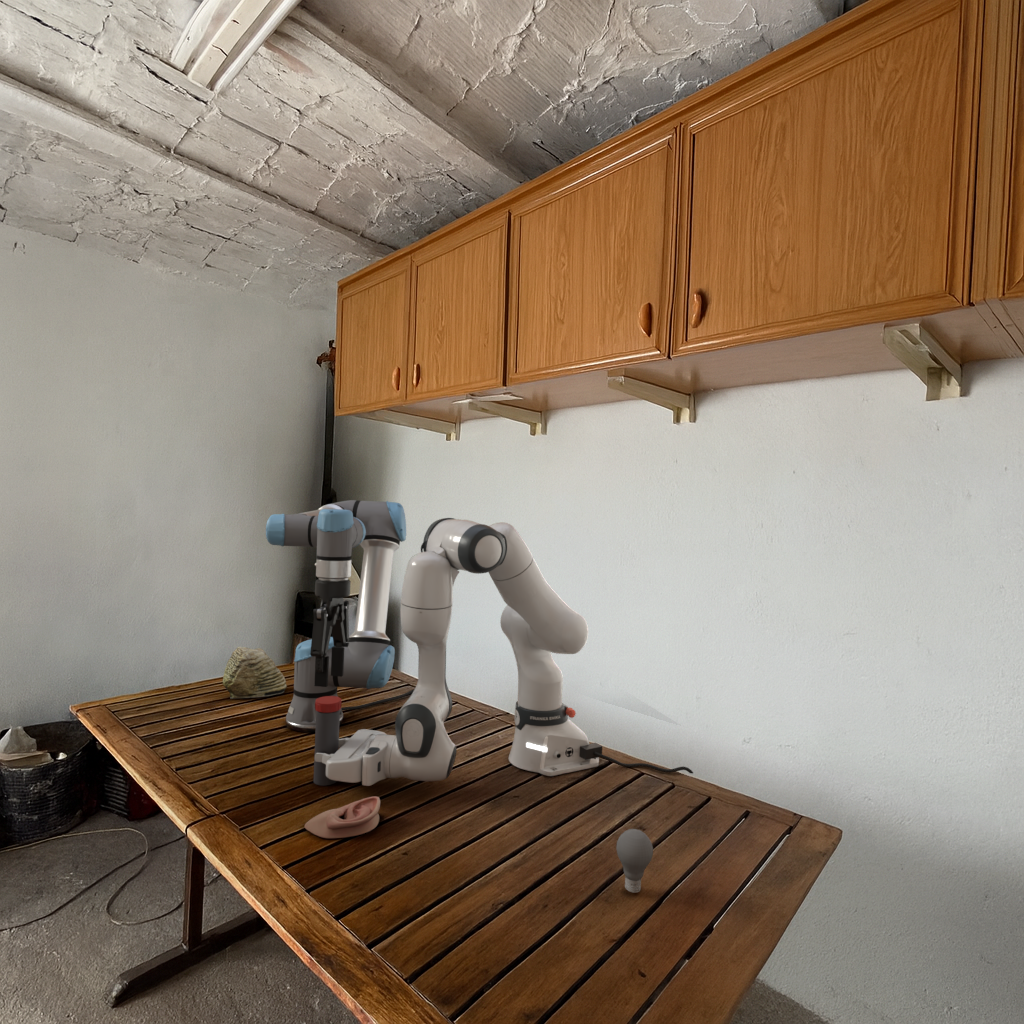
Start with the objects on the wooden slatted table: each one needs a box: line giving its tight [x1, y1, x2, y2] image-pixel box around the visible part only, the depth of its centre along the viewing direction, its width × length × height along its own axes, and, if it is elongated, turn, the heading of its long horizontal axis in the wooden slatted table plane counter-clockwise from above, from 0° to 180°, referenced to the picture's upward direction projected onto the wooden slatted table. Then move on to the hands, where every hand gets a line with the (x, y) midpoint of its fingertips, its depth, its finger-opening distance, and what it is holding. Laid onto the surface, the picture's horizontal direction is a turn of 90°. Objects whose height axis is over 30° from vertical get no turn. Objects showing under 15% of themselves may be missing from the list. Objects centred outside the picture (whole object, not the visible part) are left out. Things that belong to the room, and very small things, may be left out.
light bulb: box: [615, 828, 654, 894], centre depth 106 cm, size 6×6×10 cm
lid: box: [315, 696, 343, 713], centre depth 141 cm, size 6×6×2 cm
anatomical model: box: [304, 796, 381, 839], centre depth 123 cm, size 13×4×12 cm
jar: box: [312, 710, 341, 787], centre depth 141 cm, size 5×5×18 cm
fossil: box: [222, 646, 288, 699], centre depth 198 cm, size 9×18×15 cm, turn 132°
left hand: (329, 680), depth 141 cm, fingers open, 8 cm apart
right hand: (322, 749), depth 141 cm, fingers open, 6 cm apart
